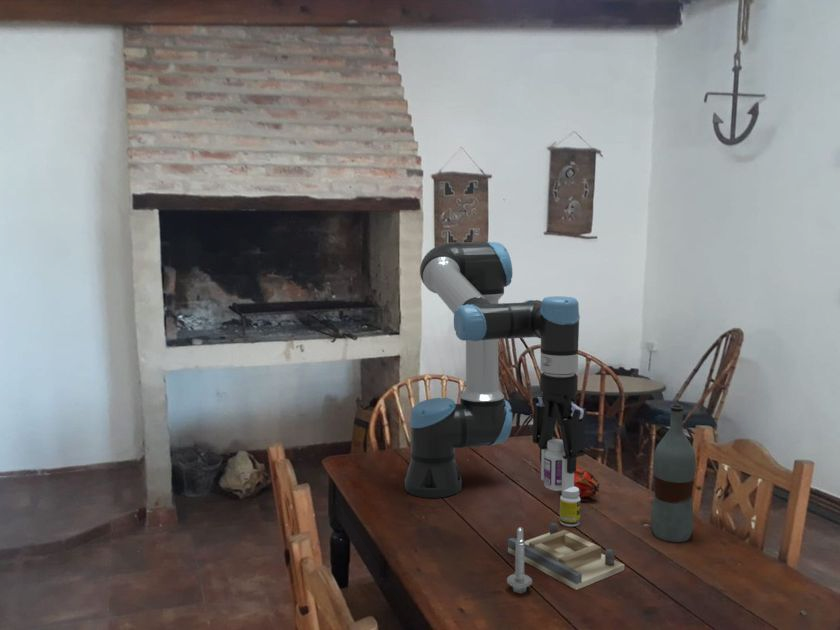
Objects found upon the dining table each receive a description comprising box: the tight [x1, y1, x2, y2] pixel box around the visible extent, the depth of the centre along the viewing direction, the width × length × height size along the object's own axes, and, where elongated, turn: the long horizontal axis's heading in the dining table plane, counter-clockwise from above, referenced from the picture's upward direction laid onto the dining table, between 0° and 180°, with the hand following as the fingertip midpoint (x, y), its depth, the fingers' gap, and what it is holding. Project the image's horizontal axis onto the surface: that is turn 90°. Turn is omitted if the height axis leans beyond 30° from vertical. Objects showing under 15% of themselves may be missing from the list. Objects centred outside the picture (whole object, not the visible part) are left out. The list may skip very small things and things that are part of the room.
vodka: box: [650, 404, 697, 543], centre depth 170 cm, size 9×9×30 cm
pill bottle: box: [543, 438, 568, 492], centre depth 156 cm, size 5×5×10 cm
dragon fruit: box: [574, 464, 600, 502], centre depth 194 cm, size 8×8×12 cm
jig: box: [507, 522, 625, 591], centre depth 159 cm, size 20×14×4 cm
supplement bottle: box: [559, 487, 582, 527], centre depth 178 cm, size 5×5×8 cm
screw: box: [506, 526, 533, 594], centre depth 147 cm, size 13×5×5 cm
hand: (557, 482), depth 157 cm, fingers closed on pill bottle, 5 cm apart
